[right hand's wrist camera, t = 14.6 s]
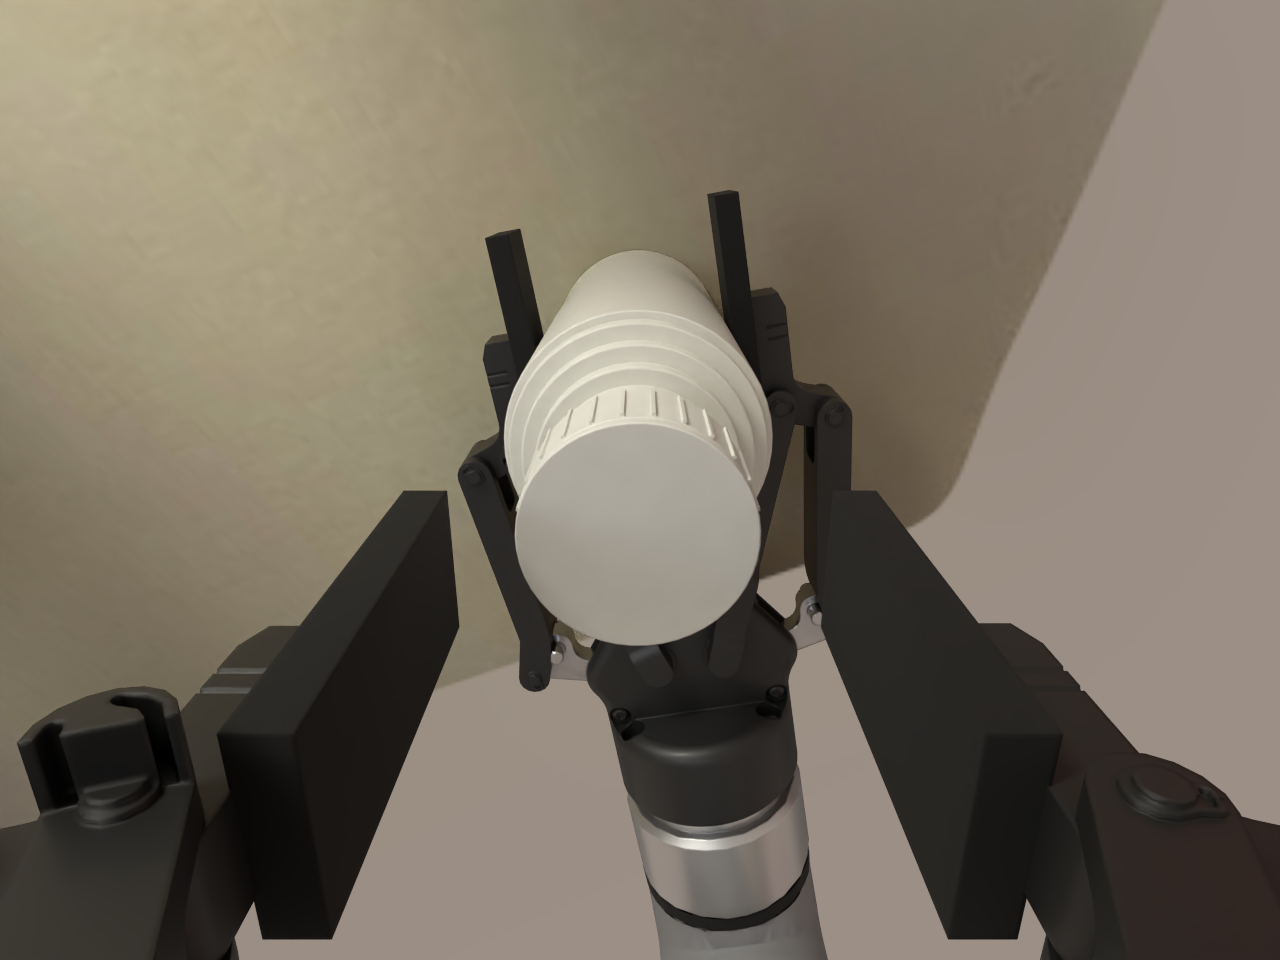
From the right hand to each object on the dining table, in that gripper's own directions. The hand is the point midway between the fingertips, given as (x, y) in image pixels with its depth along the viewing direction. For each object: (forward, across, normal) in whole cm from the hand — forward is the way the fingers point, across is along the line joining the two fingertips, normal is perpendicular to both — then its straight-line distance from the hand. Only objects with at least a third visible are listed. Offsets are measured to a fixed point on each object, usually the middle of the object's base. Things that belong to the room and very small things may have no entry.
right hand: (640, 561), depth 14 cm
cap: (+1, 0, 0) cm, 1 cm away
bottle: (+21, 0, 0) cm, 21 cm away
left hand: (+15, +1, -5) cm, 16 cm away
